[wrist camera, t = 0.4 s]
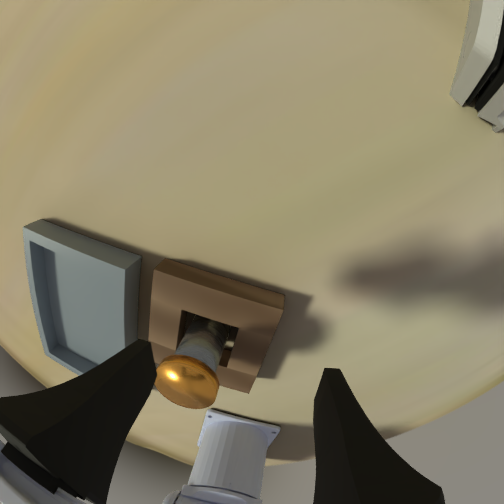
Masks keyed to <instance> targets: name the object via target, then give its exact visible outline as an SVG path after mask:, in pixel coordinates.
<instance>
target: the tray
mask: <svg viewBox="0 0 504 504" xmlns="http://www.w3.org/2000/svg"><path fill="white" fill-rule="evenodd" d="M23 238H24V250H25V259H26V267H27V275H28V281H29V287H30V293H31V299H32V304H33V309H34V313H35V318H36V322H37V326H38V330H39V334H40V338H41V341H42V345H43V348H44V352H45V355H47V356H48V357H50V358H51V359H53V360H54V361H56V362H58V363H59V364H61V365H62V366H64V367H66V368H67V369H69V370H71V371H72V372H74V373H76V374H77V375H79V376H80V375H82V374H84V373H85V372H87V371H89V370H91V369H92V368H94V367H96V366H98V365H99V364H101V363H103V362H104V361H106V360H107V359H109V358H110V357H112V356H114V355H115V354H117V353H118V352H120V351H121V350H123V349H124V348H126V347H127V346H128V345H130V344H132V343H133V342H135V341H136V340H137V329H138V300H139V282H140V269H141V257H142V256H139V255H136V254H133V253H130V252H128V251H125V250H122V249H119V248H116V247H114V246H111V245H108V244H105V243H103V242H100V241H97V240H94V239H92V238H89V237H86V236H84V235H81V234H78V233H76V232H73V231H70V230H68V229H65V228H62V227H60V226H57V225H55V224H52V223H50V222H47V221H45V220H42V219H40V220H37V221H35V222H33V223H30V224H28V225H26V226H24V227H23Z"/></svg>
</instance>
